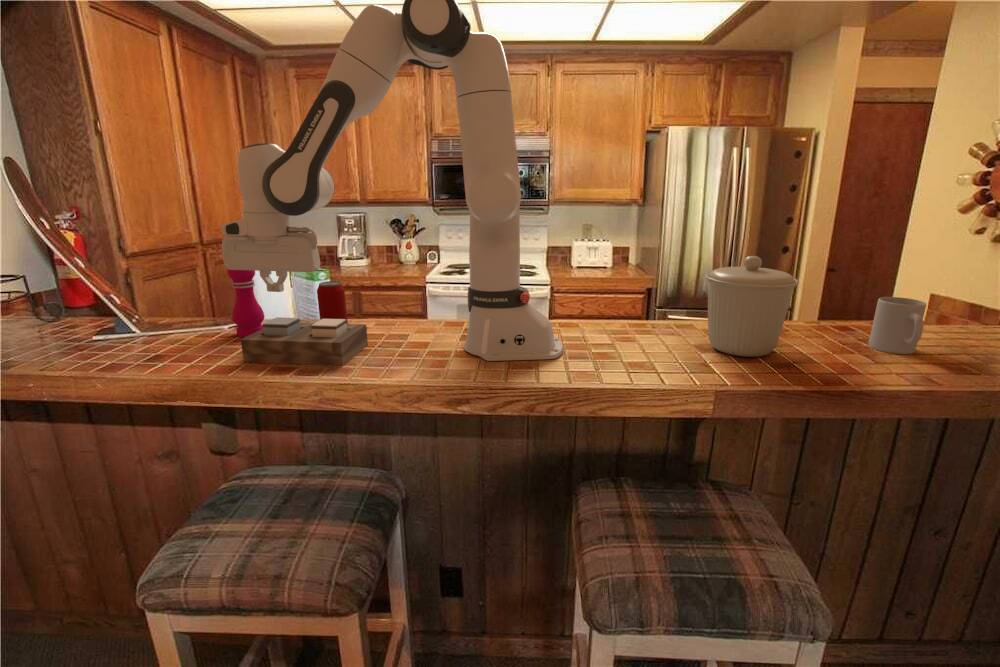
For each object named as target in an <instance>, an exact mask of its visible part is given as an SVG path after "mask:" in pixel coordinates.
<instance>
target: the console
mask: <svg viewBox="0 0 1000 667" xmlns="http://www.w3.org/2000/svg"><path fill="white" fill-rule="evenodd" d="M314 323H315V322H300V329H301V330H299V331H298V332H296V333H294V334H292V335H291V336H272V335H265V334H264V328H263V329H261V330H259V331H257V332H255V333H253V334H251V335H249V336H247V337H242V338H241V339H240V344H241V345H240V346H241V350H242V351H241V352H242V358H243V363H256V362H268V363H267V364H283V363H285V365H289V364H290V365H309V366H310V365H312V366H313V365H315V366H337V367H338V366H339V367H340V366H342V367H343V366H344V365H346V364H347V363H348V362H349V361H350V360H352V359H354V358H355V357H356V356H357V355H358V354H359V353H360V352H361V351H363V350H364V349H365V348H366V347H368V346H369V344H368V330H367V324H359V323H355V324H354V323H348V324H347V332H346V333H345V334H343V335H342V336H340V337H339V338H337V337H313V334H312V329H311V325H313V324H314ZM363 348H364V349H363ZM362 349H363V350H362Z"/></svg>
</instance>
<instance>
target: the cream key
mask: <svg viewBox="0 0 1000 667" xmlns="http://www.w3.org/2000/svg"><path fill="white" fill-rule="evenodd" d="M347 322H348V320H347V321H346V319H321V320H320V319H319V320H318V321H316V322H313V323H314V324H313V325H311V329H312V334H313V337H337V338H339V337H340V336H342V335H343V334H345V333H346V332H347V324H346V323H347Z"/></svg>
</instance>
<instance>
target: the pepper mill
mask: <svg viewBox="0 0 1000 667" xmlns="http://www.w3.org/2000/svg"><path fill="white" fill-rule="evenodd" d="M227 275H228V277H229V278H230V279H231V280H232V281H231V284H232V286H231V287H232V288H233V289H234V291H235V303H234V307H233V309H232V316H231V317H232V322H233V323H234V324H235V325H237V327H236V335H237V336H238V337H240V338H245V337H247V336H249V335H251V334H253V333H255V332H257V331H259V330H261V329H263V328H264V327H263V322H264V319H265V313H264V310H263V308H262V306H261V305H260V304H259V302H258V300H257V299H256V296H255V292H254V287H255V286H256V284H255V280H254V279H253V278H254V277H255V275H256V271H253V270H229V269H228V268H227Z"/></svg>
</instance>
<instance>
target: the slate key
mask: <svg viewBox="0 0 1000 667" xmlns="http://www.w3.org/2000/svg"><path fill="white" fill-rule="evenodd" d="M300 320H301V319H300V317H284V316H283V317H278V316H277V317H274V318H272V319H270V320H268V321H266V322H264V323H263V322H262V325H263V327H264V334H265V335H272V336H291V335H292V334H294V333H296V332H298V331H299V330H301V329H300V323H301V321H300Z"/></svg>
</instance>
